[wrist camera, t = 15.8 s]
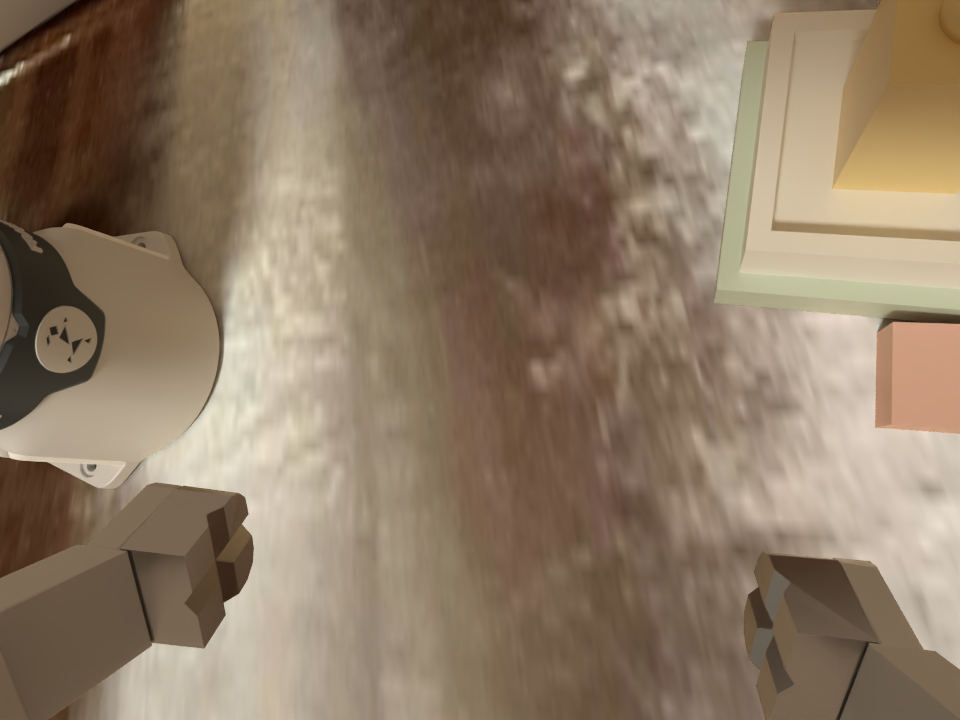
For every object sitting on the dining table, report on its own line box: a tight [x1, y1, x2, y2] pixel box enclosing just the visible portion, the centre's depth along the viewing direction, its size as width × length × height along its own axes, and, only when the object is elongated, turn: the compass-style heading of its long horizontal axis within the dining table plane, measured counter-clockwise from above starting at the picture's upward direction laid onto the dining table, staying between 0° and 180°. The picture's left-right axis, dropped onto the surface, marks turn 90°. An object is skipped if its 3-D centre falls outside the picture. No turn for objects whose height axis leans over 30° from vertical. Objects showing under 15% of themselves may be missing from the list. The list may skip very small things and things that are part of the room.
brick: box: [875, 322, 960, 434], centre depth 33 cm, size 5×5×3 cm
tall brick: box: [832, 0, 960, 194], centre depth 26 cm, size 5×5×10 cm
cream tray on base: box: [714, 9, 960, 324], centre depth 33 cm, size 14×14×7 cm
